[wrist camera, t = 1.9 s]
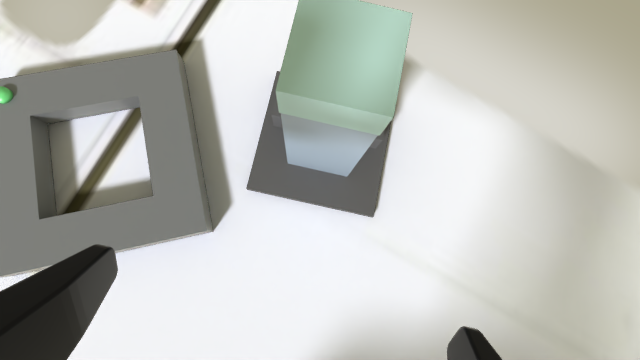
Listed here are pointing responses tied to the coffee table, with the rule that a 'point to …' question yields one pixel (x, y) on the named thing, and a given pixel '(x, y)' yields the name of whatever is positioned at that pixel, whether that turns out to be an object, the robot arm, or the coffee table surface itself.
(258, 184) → the corner stop plate
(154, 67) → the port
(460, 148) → the coffee table surface
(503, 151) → the coffee table surface
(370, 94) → the plug
